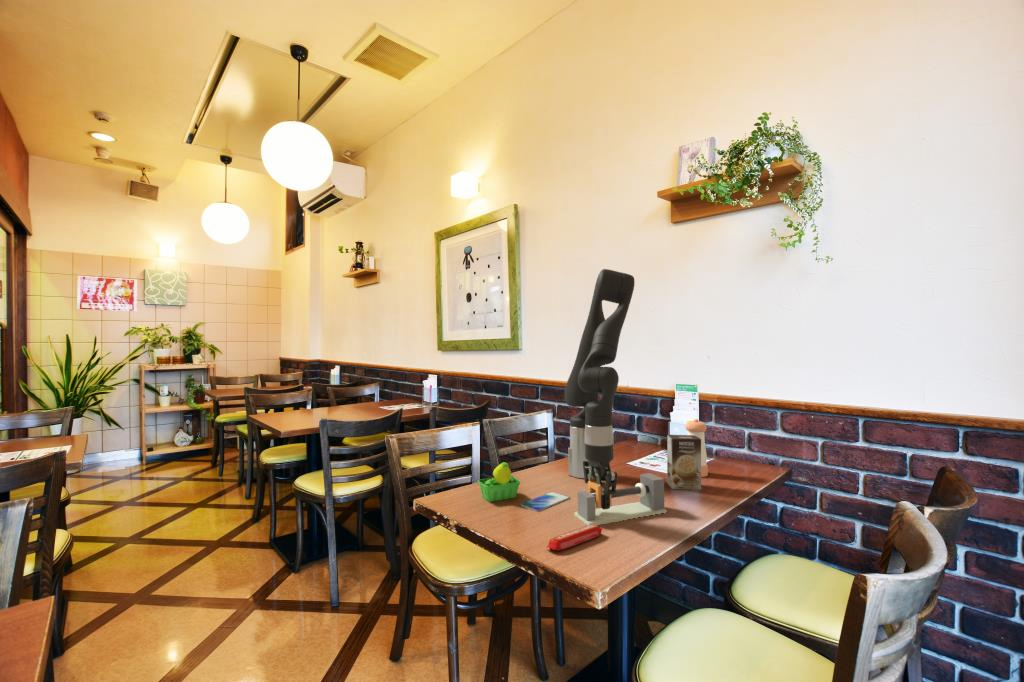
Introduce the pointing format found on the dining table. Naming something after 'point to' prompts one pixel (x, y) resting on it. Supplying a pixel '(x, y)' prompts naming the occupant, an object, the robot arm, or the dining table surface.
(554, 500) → the smartphone
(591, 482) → the marker sleeve
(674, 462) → the coffee box
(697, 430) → the pepper shaker
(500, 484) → the fruit basket
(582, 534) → the candy bar
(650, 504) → the cord stand
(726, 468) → the dining table surface
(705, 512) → the dining table surface
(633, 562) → the dining table surface
